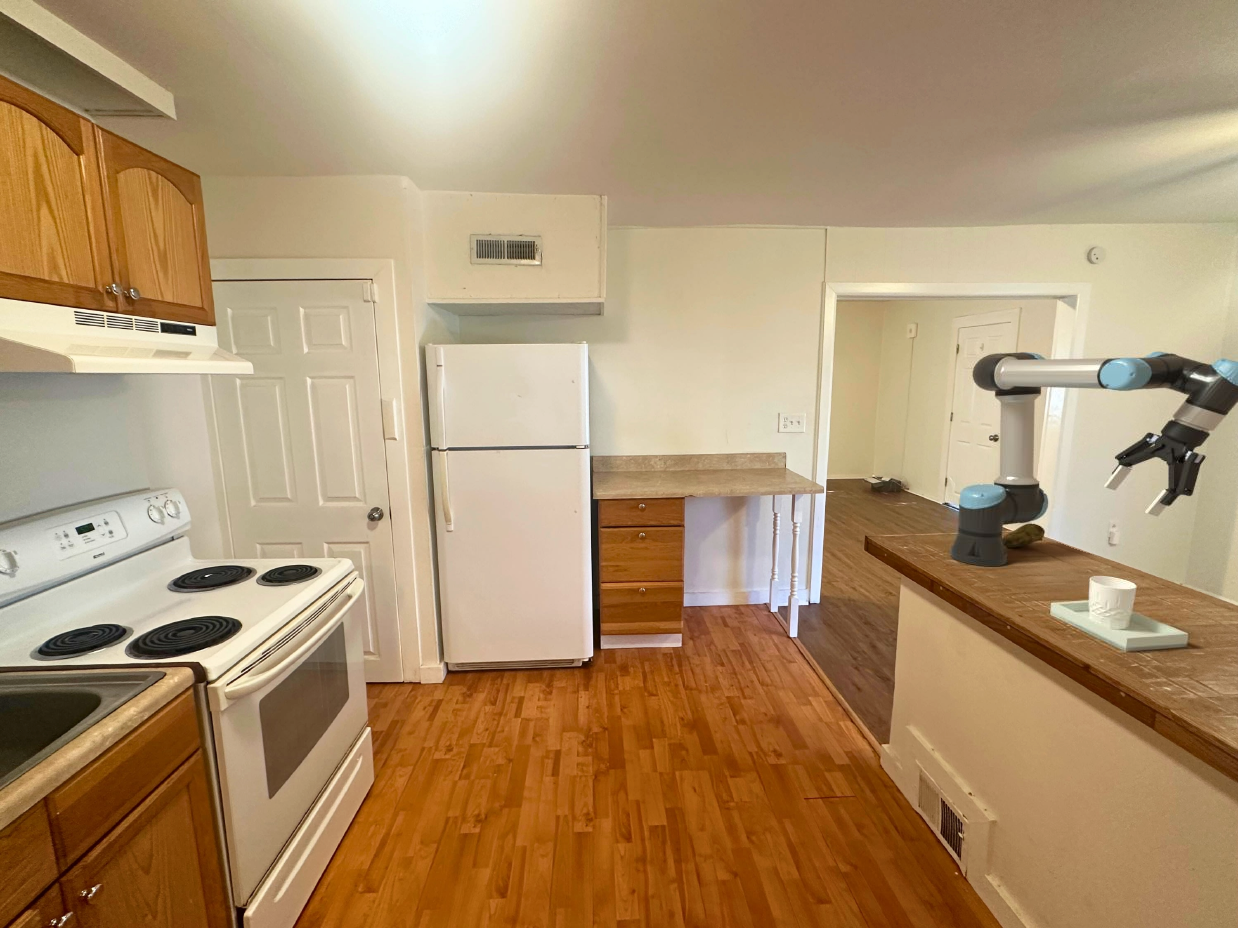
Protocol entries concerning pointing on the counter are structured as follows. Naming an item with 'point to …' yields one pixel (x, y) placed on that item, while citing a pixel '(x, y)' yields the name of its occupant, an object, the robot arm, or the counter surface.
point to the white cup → (1111, 601)
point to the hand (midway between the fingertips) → (1129, 500)
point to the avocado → (1024, 536)
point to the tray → (1134, 638)
